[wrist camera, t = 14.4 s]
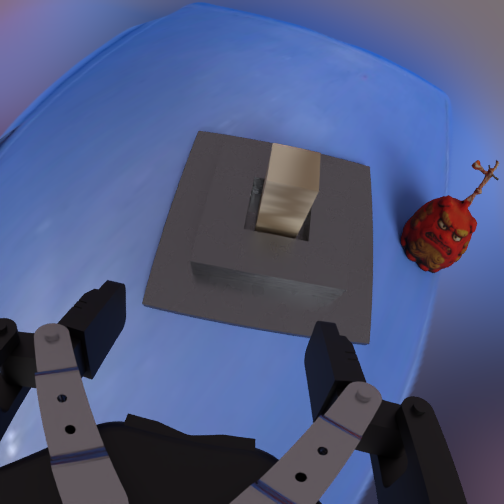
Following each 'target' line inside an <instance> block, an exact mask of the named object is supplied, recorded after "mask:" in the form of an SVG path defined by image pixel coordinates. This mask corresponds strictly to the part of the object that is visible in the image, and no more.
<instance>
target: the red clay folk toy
mask: <svg viewBox="0 0 504 504" xmlns="http://www.w3.org/2000/svg"><path fill="white" fill-rule="evenodd" d="M498 164H499V162H498V161H496V165H495V166H494V168H490V165H489V170H488V171H485V170H484V169H483V168H482V167H481V165H480V161H479V160H477V161H476V162H475V163H473V164H472V167H473V168H474V169H475V170H480V171H481V172H482V173H483V174H485V178H484V180H483V181H482V183H481V184H480V185H479V187H478V188H476V190H475V191H474V193H473V194H472V195H470V196H469V197H468V198H466V199H465V200H463V201H460V200H458V199H455V198H452V197H451V196H449V195H448V196H446V197H445V196H443V197H440V198H437V199H434V200H431V201H429V202H427V203H426V204H424V205H423V206H422V207H421V208H420V209H419V210H417V211H416V212H415V214H414V215H413V216H412V217H411V218H410V219H409V220H408V221H407V222H406V224H405V226H404V228H403V232H402V235H401V245H402V246H403V247H404V249H405V251H406V255H407V257H408V259H410V260H411V261H415V262H416V263H417V264H418V265H419V267H420V269H422V270H424V271H429V272H432V273H435V272H438V271H439V270H441V269H443V268H446V267H449V266H451V265H452V264H453V263H454V262H457V261H458V260H459V259H460V258H461V256H462V254H464V253H465V251H466V250H467V247H468V244H469V241H470V239H471V236H472V233H473V232H474V231H475V229H476V226H477V222H476V220H475V218H473V217H472V215H471V213H470V212H469V210H468V207H469V206H470V205H471V203H472V201H473V199H474V197H475V196H476V195H478V194H481V193H482V189H481V188H482V187H483V186H484V185H485V184H486V183H487V182H488V180H489V179H490V178H491V177H492V176H493V177H494V178H495V179H496V180H498V178H497V177H495V176H494V175H493V172H494V170H495V169H496V168H497V166H498Z"/></svg>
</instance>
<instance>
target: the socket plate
mask: <svg viewBox="0 0 504 504" xmlns="http://www.w3.org/2000/svg"><path fill="white" fill-rule="evenodd" d="M272 145H273V143H269V142H264V141H258V140H253V139H247V138H242V137H236V136H230V135H224V134H217V133H210V132H203V131H198V134H197V136H196V139H195V142H194V144H193V147H192V149H191V152H190V155H189V157H188V160H187V163H186V165H185V168H184V171H183V174H182V176H181V179H180V182H179V185H178V188H177V191H176V193H175V196H174V199H173V202H172V205H171V208H170V211H169V214H168V217H167V220H166V223H165V227H164V230H163V233H162V236H161V239H160V243H159V246H158V249H157V252H156V256H155V259H154V263H153V266H152V270H151V273H150V277H149V280H148V284H147V287H146V291H145V295H144V299H143V302H142V304H143V305H144V306H146V307H150V308H154V309H158V310H163V311H167V312H171V313H176V314H180V315H185V316H189V317H194V318H199V319H204V320H209V321H214V322H219V323H224V324H229V325H234V326H240V327H245V328H251V329H256V330H262V331H268V332H274V333H280V334H286V335H293V336H299V337H306V338H311V335H312V332H313V329H314V326H315V324H316V322H317V321H325V322H332V323H335V324H336V326H337V329H338V331H339V334H340V335H342V336H346V337H347V339H348V340H349V341H350V342H351V343H352V344H360V345H367V344H369V341H370V327H371V310H372V285H373V220H372V195H371V178H370V167H369V166H365V165H362V164H358V163H354V162H351V161H347V160H343V159H339V158H335V157H331V156H327V155H323V154H320V178H319V192H318V194H317V196H316V198H315V200H314V202H313V204H312V206H311V208H310V210H309V212H308V214H307V216H306V218H305V220H304V222H303V224H302V226H301V228H300V230H299V232H298V234H297V236H296V238H295V239H293V238H288V237H283V236H278V235H273V234H268V233H263V232H258V231H255V225H256V220H257V214H258V208H259V203H260V198H261V194H262V189H263V185H264V180H265V176H266V171H267V167H268V162H269V158H270V153H271V149H272Z"/></svg>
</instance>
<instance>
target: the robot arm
mask: <svg viewBox="0 0 504 504" xmlns="http://www.w3.org/2000/svg"><path fill="white" fill-rule="evenodd" d="M125 320H126V288H125V285H124V284H122V283H118V282H114V281H109V280H107V281H106V282H105V283H104V284H103V285H102V286H101V287H100V288H99V290H98V289H93V290H91V291H89V292H87V293H85V294H84V295H83V296H82V297H81V298H80V299H79V301H77V302H76V304H75V305H74V307H72V308H71V309H70V310H69V311H68V312H67V313H66V315H65V316H64V317H63V318H62V319H61V320H60V321H59V322H58V323H57V324H55V323H52V324H46V325H43V326H41V327H39V328H38V329H37V330H36V332H35V333H26V332H18V329H17V326H16V323H15V322H14V321H13V320H11V319H7V318H0V441H1V439H2V437H3V435H4V434H5V432H6V430H7V428H8V426H9V425H10V423H11V421H12V419H13V417H14V416H15V414H16V412H17V410H18V409H19V407H20V405H21V404H22V402H23V400H24V399H25V397H26V395H27V394H28V392H29V390H30V389H31V387H32V388H37V395H38V401H39V407H40V412H41V418H42V423H43V428H44V432H45V437H46V441H47V445H48V448H45V449H43V450H41V451H38V452H36V453H34V454H31V455H29V456H27V457H24V458H22V459H20V460H17V461H15V462H12V463H10V464H7V465H5V466H2V467H0V504H322V503H321V502H320V501H319V499H320V498H321V496H322V495H323V494H324V492H325V491H326V490H327V488H328V487H329V486H330V484H331V483H332V482H333V480H334V479H335V477H336V476H337V475H338V473H339V472H340V470H341V469H342V468H343V466H344V465H345V463H346V462H347V460H348V459H349V457H350V456H351V454H352V453H353V451H354V450H359V451H363V452H367V453H370V457H371V463H372V469H373V474H374V480H375V486H376V492H377V499H378V504H467V502H466V498H465V495H464V492H463V489H462V486H461V483H460V480H459V477H458V474H457V471H456V468H455V465H454V462H453V459H452V457H451V454H450V451H449V449H448V446H447V443H446V440H445V438H444V435H443V433H442V430H441V428H440V425H439V423H438V420H437V418H436V415H435V413H434V410H433V408H432V407H431V405H430V404H429V403H428V402H427V401H425V400H424V399H422V398H419V397H414V396H413V397H408V398H406V399H404V401H403V402H402V404H401V405H399V404H396V403H392V402H388V401H385V400H382V397H381V394H380V392H379V391H378V390H377V389H376V388H375V387H374V386H372V385H370V384H368V383H366V380H365V377H364V374H363V372H362V369H361V366H360V363H359V361H358V358H357V355H356V354H355V353H356V352H355V350H354V347H353V344H352V343H351V342H350V341H349V340H348V339H347V337H346V336H342V335H340V334H339V331H338V329H337V326H336V324H335V323H332V322H325V321H317V322H316V324H315V326H314V329H313V332H312V335H311V338H310V340H309V343H308V346H307V349H306V352H305V359H304V363H305V370H306V376H307V383H308V390H309V396H310V403H311V410H312V417H313V424H312V425H311V427H310V428H309V429H308V430H307V431H306V432H305V433H304V434H303V436H302V437H301V438H300V439H299V440H298V441H297V442H296V443H295V444H294V445H293V446H292V447H291V448H290V449H289V451H288V452H287V453H286V454H285V455H284V456H283V457H282V458H281V459H280V460H278V459H277V458H275V457H274V456H272V455H271V454H269V453H267V452H265V451H262V450H260V449H257V448H255V439H251V438H243V437H236V436H229V435H187V434H184V433H182V432H180V431H177V430H175V429H173V428H171V427H169V426H166V425H164V424H162V423H160V422H158V421H154V420H150V419H146V418H142V417H139V416H135V415H132V414H128V415H127V417H126V420H125V422H122V421H117V422H106V423H102V424H98V425H96V423H95V420H94V417H93V415H92V412H91V409H90V406H89V403H88V399H87V396H86V393H85V390H84V387H83V383H82V380H81V378H82V377H86V378H89V379H93V378H94V376H95V374H96V373H97V371H98V369H99V367H100V366H101V364H102V362H103V361H104V359H105V357H106V356H107V354H108V352H109V351H110V349H111V347H112V346H113V344H114V342H115V341H116V339H117V338H118V336H119V334H120V333H121V331H122V329H123V327H124V325H125Z"/></svg>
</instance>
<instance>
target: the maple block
mask: <svg viewBox="0 0 504 504" xmlns="http://www.w3.org/2000/svg"><path fill="white" fill-rule="evenodd" d="M320 154H321V153H318V152H314V151H310V150H305V149H301V148H296V147H291V146H287V145H282V144H277V143H273V145H272V149H271V153H270V158H269V162H268V167H267V171H266V176H265V180H264V185H263V189H262V194H261V198H260V203H259V208H258V214H257V220H256V225H255V231H258V232H263V233H268V234H273V235H278V236H283V237H288V238H293V239H295V238H296V236H297V234H298V232H299V230H300V228H301V226H302V224H303V222H304V220H305V218H306V216H307V214H308V212H309V210H310V208H311V206H312V204H313V202H314V200H315V198H316V196H317V194H318V192H319V178H320Z"/></svg>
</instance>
